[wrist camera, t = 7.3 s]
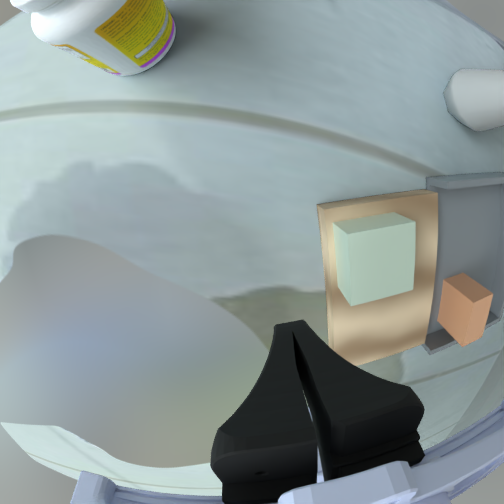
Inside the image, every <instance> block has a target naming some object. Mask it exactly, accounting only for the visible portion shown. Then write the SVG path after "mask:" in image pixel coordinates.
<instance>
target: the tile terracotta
mask: <svg viewBox="0 0 504 504" xmlns="http://www.w3.org/2000/svg"><path fill="white" fill-rule="evenodd" d="M492 297H493V293H492V292H490V291H489V290H488V289H486V288H485V287H483V286H482V285H481V284H479V283H478V282H476V281H475V280H473V279H472V278H470V277H469V276H468V275H466V274H465V273H461V274H458V275H455V276H452V277H449V278H446V279H443V287H442V295H441V301H440V308H439V314H438V319H437V321H438V322H439V323H440V324H441V325H442V326H443V327H444V328H445V329H446V330H447V332H448V333H449V334H450V335H451V336H452V337H453V338H454V339H455V340H456V341H457V342H458V343H459V344H460V345H461V346H462V347H463V346H465V345H467V344H469V343H471V342H473V341H475V340H477V339H479V338H481V337H482V335H483V332H484V328H485V325H486V321H487V318H488V314H489V310H490V306H491V302H492Z"/></svg>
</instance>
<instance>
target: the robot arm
mask: <svg viewBox="0 0 504 504" xmlns="http://www.w3.org/2000/svg"><path fill="white" fill-rule="evenodd" d="M303 392H304V393H303ZM304 395H305V396H304ZM305 398H306V399H305ZM306 400H307V403H308V406H309V407H308V406H307V403H306ZM423 414H424V406H423V404H422V402H421V401H420V399H419V398H418V396H417V395H416V394H415V393H414V391H413V390H412V389H411V388H410V387H408V386H405V385H401V384H397V383H393V382H390V381H387V380H384V379H382V378H379V377H376V376H374V375H372V374H370V373H368V372H366V371H364V370H362V369H360V368H358V367H356V366H355V365H353V364H352V363H350V362H348V361H347V360H345V359H344V358H343V357H341V356H340V355H339V354H337V353H336V352H335V351H334V350H332V349H331V348H330V347H329V346H328V345H327V344H326V343H325V342H324V341H323V340H321V339H320V338H319V337H318V336H317V335H316V333H315V332H314V331H313V330H312V329H311V328H310V327H309V325H308V324H307V323H306V321H304V320H298V321H293V322H288V323H282V324H277V325H275V326H274V335H273V341H272V345H271V348H270V352H269V355H268V358H267V361H266V363H265V366H264V368H263V370H262V373H261V374H260V377H259V378H258V380H257V382H256V384H255V386H254V387H253V389H252V390H251V392H250V394H249V395H248V396H247V398H246V399H245V400H244V402H243V403H242V404H241V406H240V407H239V408H238V409H237V410H236V412H235V413H234V414H233V415H232V416H231V417H230V418H229V419H228V420H227V421H226V422H225V423H224V424H223V425H222V426H221V427H220V428H219V429H218V430H217V433H216V436H215V439H214V443H213V447H212V452H211V464H210V466H211V468H212V470H213V472H214V473H215V474H216V476H217V477H218V478H219V479H220V481H221V482H222V496H194V495H179V494H168V493H159V492H152V491H145V490H139V489H133V488H127V487H122V486H118V485H116V484H115V483H114V482H113V481H111V480H110V479H108V478H106V477H104V476H101V475H98V474H94V473H90V472H86V471H81V473H80V476H79V479H78V482H77V484H76V487H75V490H74V493H73V496H72V499H71V502H70V504H451V502H450V500H452V499H453V498H455V497H457V496H458V495H460V494H461V493H463V492H464V491H466V490H467V489H469V488H470V487H472V486H473V485H475V484H476V483H477V482H479V481H480V480H482V479H483V478H484V477H486V476H487V475H488V474H490V473H491V472H492V471H493V470H495V469H496V468H497V467H499V466H500V465H501V464H502V463H504V399H503V401H502V403H501V405H500V406H499V407H497V408H496V409H495V410H493V411H492V412H490V413H489V414H487V415H486V416H484V417H483V418H481V419H480V420H478V421H477V422H475V423H474V424H472V425H470V426H469V427H467V428H466V429H464V430H462V431H460V432H459V433H457V434H455V435H453V436H452V437H450V438H448V439H446V440H444V441H442V442H440V443H438V444H436V445H434V446H432V447H430V448H428V449H426V450H424V451H423V449H422V447H421V445H420V443H419V441H418V440H419V439H420V436H419V434H418V432H417V428H418V426H419V424H420V421H421V419H422V417H423Z"/></svg>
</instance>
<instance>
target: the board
mask: <svg viewBox="0 0 504 504" xmlns="http://www.w3.org/2000/svg"><path fill="white" fill-rule="evenodd" d="M317 211H318V219H319V227H320V236H321V245H322V254H323V265H324V276H325V288H326V302H327V318H328V337H329V347H330V348H331V349H332V350H334V351H335V352H336V353H337V354H339V355H340V356H341V357H343V358H344V359H345V360H347V361H348V362H350V363H352V364H353V365H355V366H357V365H361V364H365V363H368V362H371V361H375V360H378V359H381V358H384V357H387V356H390V355H393V354H396V353H399V352H402V351H405V350H408V349H411V348H413V347H416V346H419V345H421V344H424V343H425V339H426V334H427V329H428V324H429V318H430V312H431V306H432V299H433V291H434V282H435V273H436V260H437V244H438V193H437V192H433V191H429V190H426V189H421V190H413V191H405V192H398V193H390V194H383V195H376V196H369V197H362V198H355V199H349V200H342V201H336V202H329V203H323V204H317ZM391 212H395V213H397V214H400V215H402V216H404V217H406V218H409V219H411V220H413V221H415V222H416V242H415V270H414V285H413V290H411V291H407V292H404V293H400V294H397V295H393V296H389V297H386V298H382V299H378V300H374V301H370V302H367V303H363V304H359V305H354V306H350V304H349V303H348V301H347V300H346V298H345V297H344V295H343V294H342V292H341V291H340V289H339V288H338V283H337V268H336V255H335V243H334V232H333V222H338V221H344V220H350V219H356V218H361V217H367V216H373V215H379V214H385V213H391Z"/></svg>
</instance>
